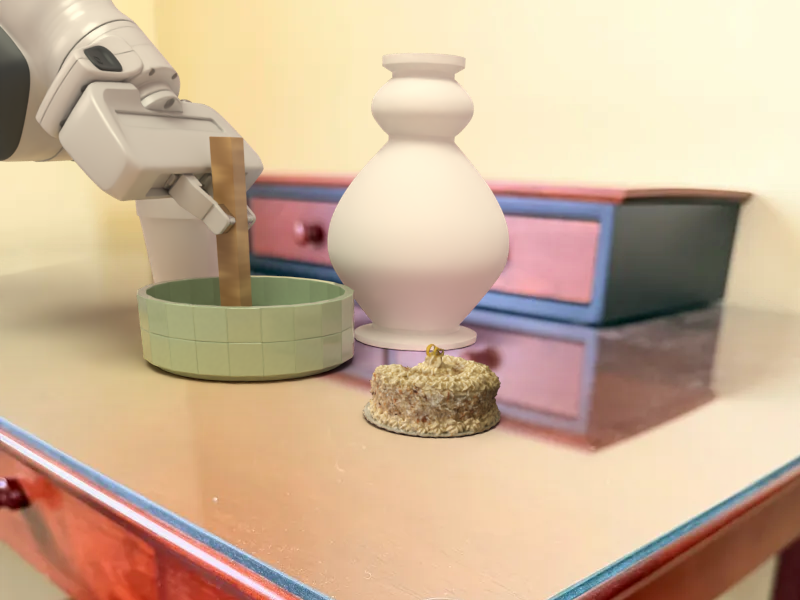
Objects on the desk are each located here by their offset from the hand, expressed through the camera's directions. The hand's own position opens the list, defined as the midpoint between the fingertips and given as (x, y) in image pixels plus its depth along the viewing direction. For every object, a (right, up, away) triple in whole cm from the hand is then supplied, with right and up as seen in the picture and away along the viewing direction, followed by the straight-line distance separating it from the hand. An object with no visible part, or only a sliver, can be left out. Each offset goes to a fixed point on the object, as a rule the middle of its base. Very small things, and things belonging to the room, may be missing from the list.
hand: (237, 227), depth 69 cm
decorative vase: (+15, -6, +16) cm, 23 cm away
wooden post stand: (-1, -8, +4) cm, 9 cm away
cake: (+16, -18, -10) cm, 26 cm away
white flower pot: (-10, -2, +23) cm, 25 cm away
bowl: (0, -10, +6) cm, 11 cm away
